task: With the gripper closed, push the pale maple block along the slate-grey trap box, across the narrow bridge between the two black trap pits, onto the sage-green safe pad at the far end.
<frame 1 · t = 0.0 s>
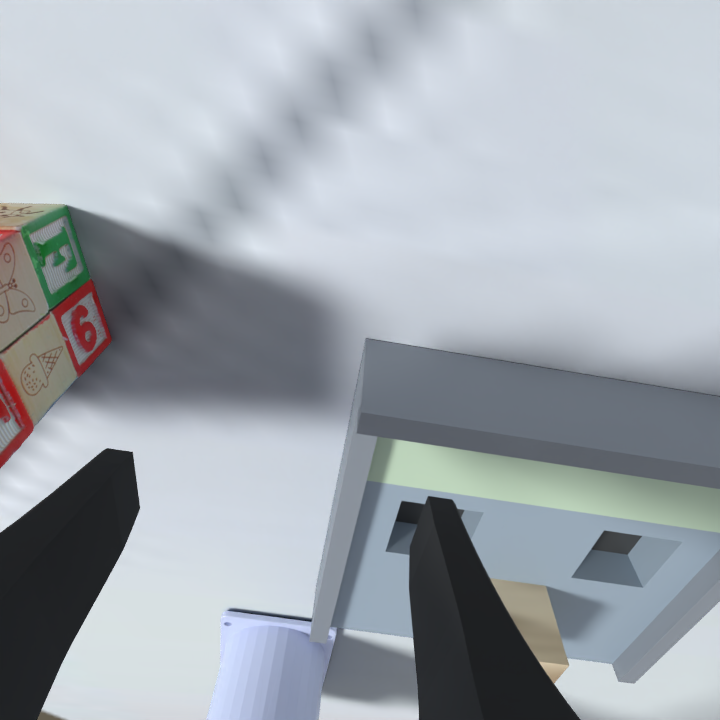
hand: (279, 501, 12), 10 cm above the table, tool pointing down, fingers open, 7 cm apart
trap box: (512, 518, 27), on the table
maple block: (498, 601, 27), point 2 cm above the table, touching trap box
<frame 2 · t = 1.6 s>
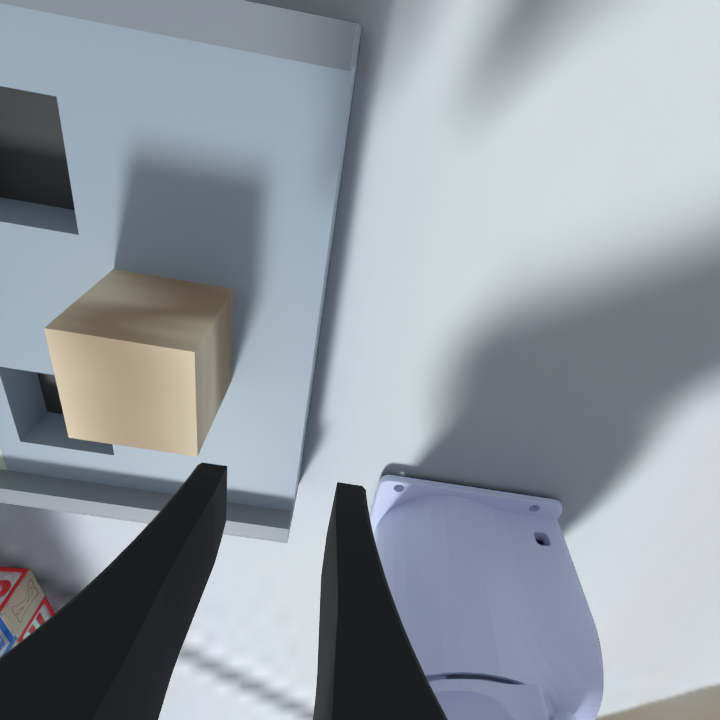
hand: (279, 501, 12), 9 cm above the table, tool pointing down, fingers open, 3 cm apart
trap box: (97, 281, 19), on the table
maple block: (176, 329, 18), point 2 cm above the table, touching trap box
stack of blocks: (40, 645, 37), on the table
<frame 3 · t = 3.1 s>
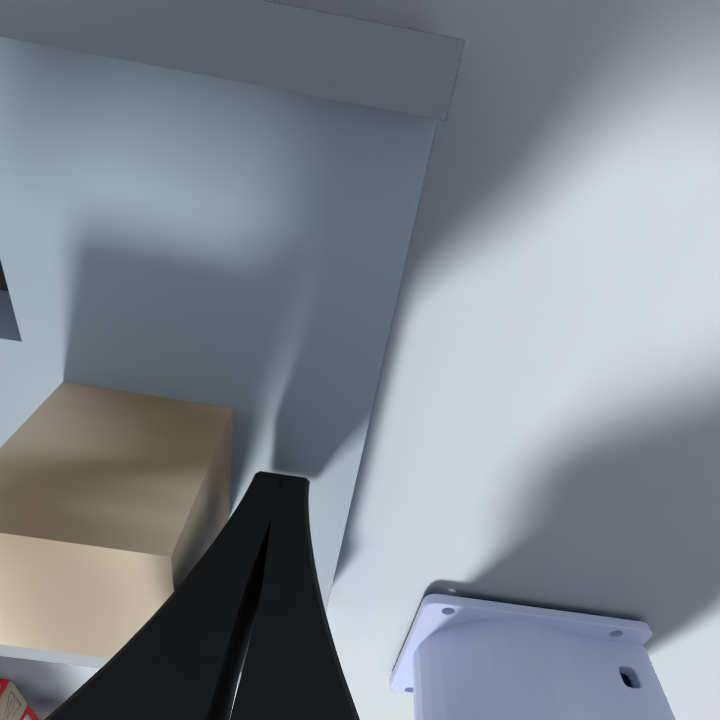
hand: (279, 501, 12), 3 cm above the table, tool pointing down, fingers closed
trap box: (62, 377, 15), on the table
maple block: (154, 455, 13), point 3 cm above the table, touching gripper
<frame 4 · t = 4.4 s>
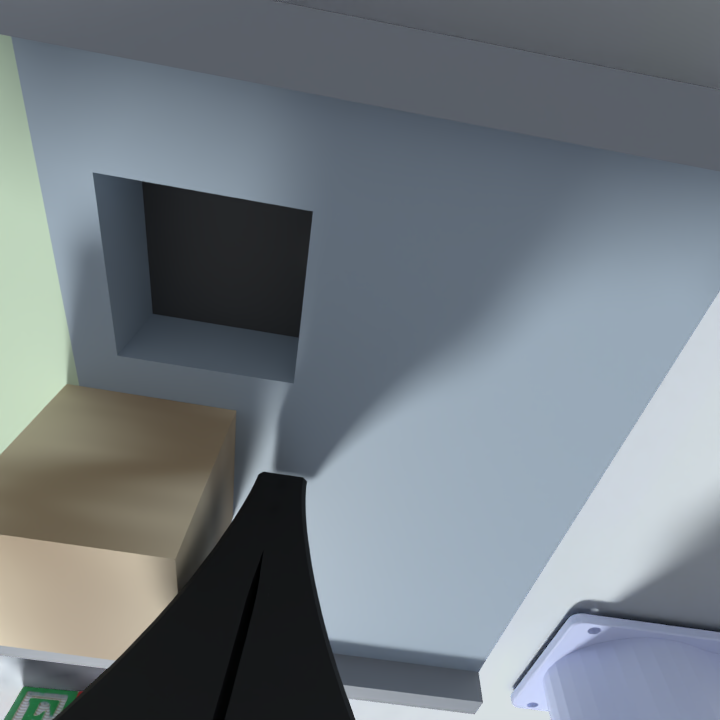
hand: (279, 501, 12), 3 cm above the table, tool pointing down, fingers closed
trap box: (265, 408, 15), on the table
maple block: (157, 457, 13), point 3 cm above the table, touching gripper, trap box
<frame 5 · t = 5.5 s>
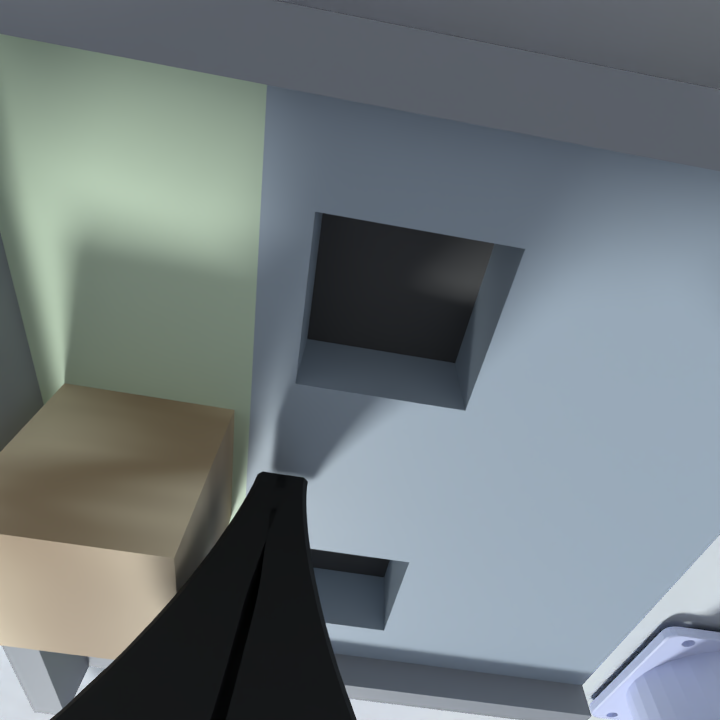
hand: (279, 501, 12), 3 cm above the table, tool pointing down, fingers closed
trap box: (395, 428, 15), on the table
maple block: (155, 456, 13), point 2 cm above the table, touching gripper, trap box
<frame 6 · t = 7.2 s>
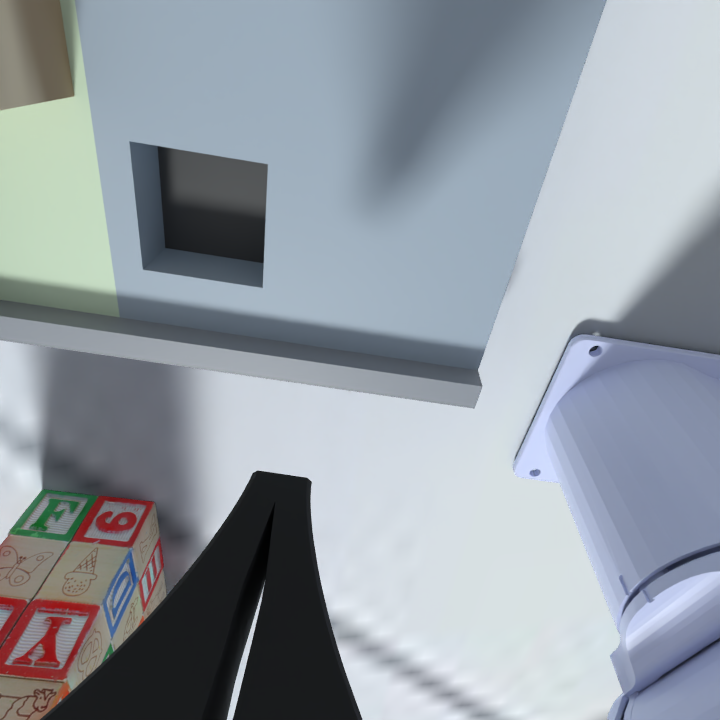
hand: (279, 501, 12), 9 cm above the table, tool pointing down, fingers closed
trap box: (255, 36, 15), on the table
stack of blocks: (126, 597, 33), on the table
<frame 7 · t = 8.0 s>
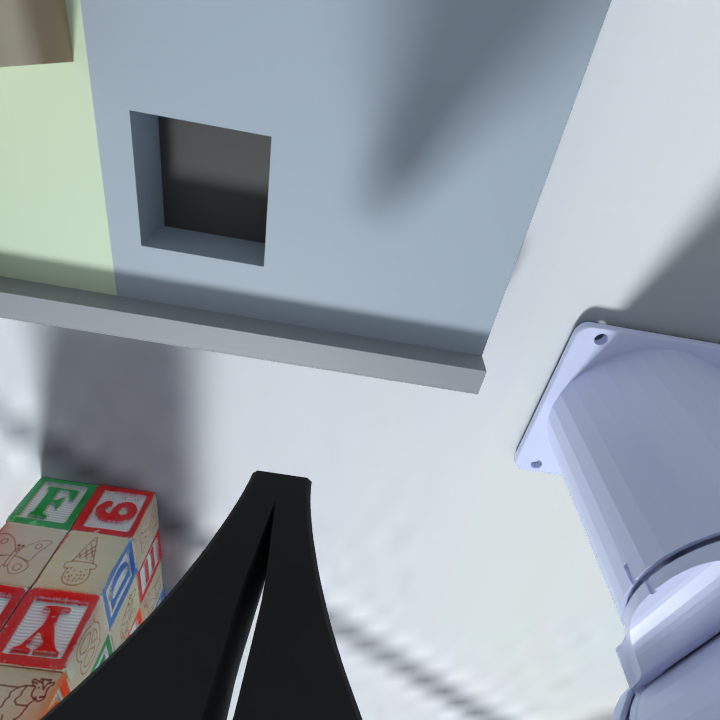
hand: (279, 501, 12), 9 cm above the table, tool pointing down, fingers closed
trap box: (260, 5, 14), on the table
stack of blocks: (121, 588, 32), on the table
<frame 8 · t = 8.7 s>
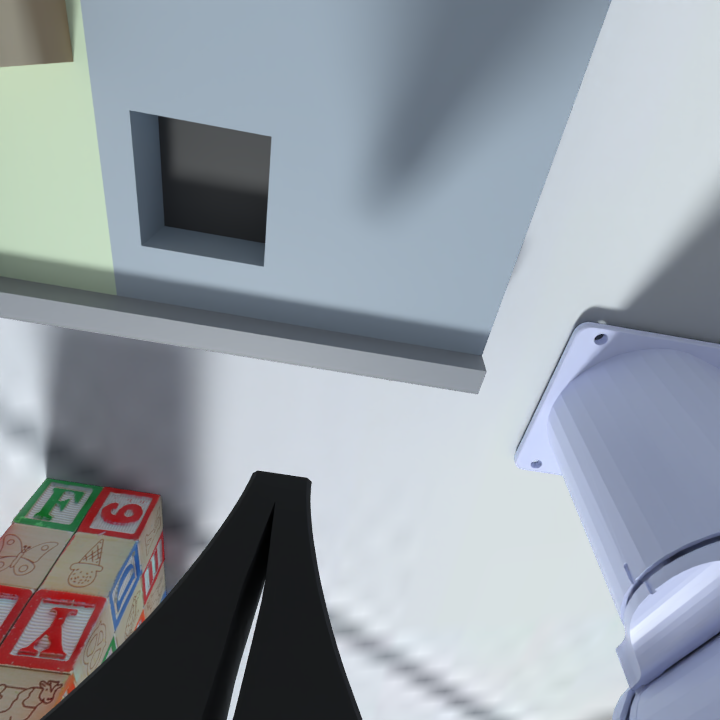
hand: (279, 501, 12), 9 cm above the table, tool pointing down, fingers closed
trap box: (260, 5, 14), on the table
stack of blocks: (123, 589, 32), on the table
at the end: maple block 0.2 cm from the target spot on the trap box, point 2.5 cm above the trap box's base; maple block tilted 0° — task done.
